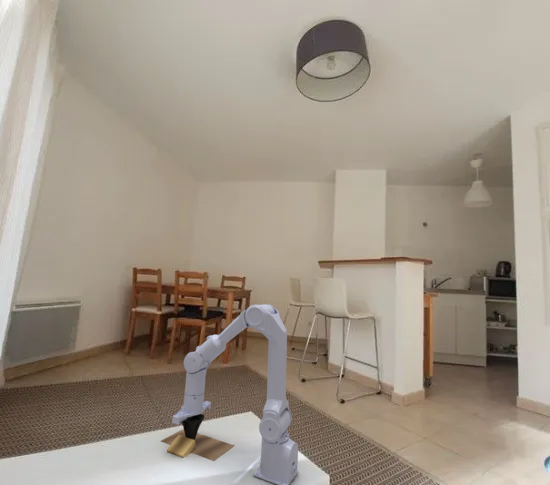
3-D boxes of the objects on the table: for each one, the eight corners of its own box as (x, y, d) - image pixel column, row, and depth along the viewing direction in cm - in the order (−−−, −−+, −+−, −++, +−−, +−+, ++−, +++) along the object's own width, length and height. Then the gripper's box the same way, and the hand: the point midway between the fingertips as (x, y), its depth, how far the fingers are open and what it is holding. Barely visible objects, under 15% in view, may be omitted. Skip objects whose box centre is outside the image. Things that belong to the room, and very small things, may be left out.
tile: (196, 445, 89) (194, 440, 88) (184, 461, 85) (182, 455, 84) (180, 440, 92) (178, 434, 91) (168, 455, 87) (166, 449, 87)
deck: (234, 451, 92) (234, 445, 92) (213, 467, 83) (214, 461, 84) (183, 433, 101) (183, 428, 101) (159, 446, 92) (160, 441, 93)
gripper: (200, 384, 101) (196, 429, 99) (166, 396, 89) (161, 448, 87) (217, 388, 98) (213, 435, 96) (185, 402, 85) (180, 456, 83)
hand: (190, 442), depth 91 cm, fingers closed
